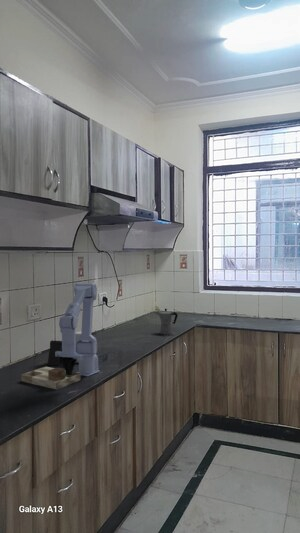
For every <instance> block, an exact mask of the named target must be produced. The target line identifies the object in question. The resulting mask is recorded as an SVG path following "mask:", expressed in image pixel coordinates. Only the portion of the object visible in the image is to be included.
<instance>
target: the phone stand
mask: <svg viewBox="0 0 300 533" xmlns="http://www.w3.org/2000/svg"><path fill="white" fill-rule="evenodd" d="M48 351H49V352H48V358H47V366H55V367H56V366H58V367H59V366H60V365H63V363H62V362H61V359H63V357H60V356H55V352H56V351H62V340H50V341H49V350H48Z"/></svg>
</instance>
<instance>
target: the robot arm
mask: <svg viewBox="0 0 300 533" xmlns="http://www.w3.org/2000/svg"><path fill="white" fill-rule="evenodd" d="M73 292H74V297H73V300H72V302H70V303H69V304H68V306H67V308H66V311H65V313H64V314H63V315H62V316H60V318H59V322H58V325H59V328H60V334H61V341H62V351H56V352H55V356H60V357H63V359H61V362H62V365H63V369H65V371H66V375H71V374H72V372H73V371H74V367H75V364H76V363H77V362H76V361H77V360H79V363H78V371H77V372H76V373H80V375H81V376H83V377H91V376H92V375H94V374H97V373H99V372H100V370H99V357H98V355H97V352H98V341H97V338H96V337H95V336H94V335H92V331H93V330H92V328H93V310H94V309H93V307H94V306H93V305H94V301H96V300H97V296H98V295H97V294H98V288H97V284H96V283H95V282H75V284H74V286H73ZM81 305H82V308H81ZM81 309H82V315H81V330H80V331H81V336H79V337H78V338H77V339H76V344H75V332H76V328H77V327H78V322H79V318H78V317H79V315H80V313H81ZM81 341H89V342H81Z"/></svg>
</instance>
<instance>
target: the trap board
mask: <svg viewBox="0 0 300 533" xmlns="http://www.w3.org/2000/svg"><path fill="white" fill-rule="evenodd" d="M54 368H55V367H49V366H43V367H40V368H38V369H34V370H31V371H28V372H24V373H22V374H21V375H20V377H21V378H20V379H21V382H22V383H23V382H24V383H27V384H32V385H35V386H40V387H44V388H49V389H53V390H60V389H61V388H64V387H67V386H70V385H72V384H74V383H76V382H79V381H81V378H82V377H81V376H82V375H80V373H77V372H73V371H72V374H71V375H66V371H65V378H64V379H62V380H59V381H53V380H49V377H48V371H49V370H52V369H54Z"/></svg>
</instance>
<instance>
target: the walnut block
mask: <svg viewBox="0 0 300 533" xmlns="http://www.w3.org/2000/svg"><path fill="white" fill-rule="evenodd" d="M53 368H54V369H52V370H49V371H48V377H49V380H53V381H59V380H62V379H64V378H65V368H60V367H53Z"/></svg>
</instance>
